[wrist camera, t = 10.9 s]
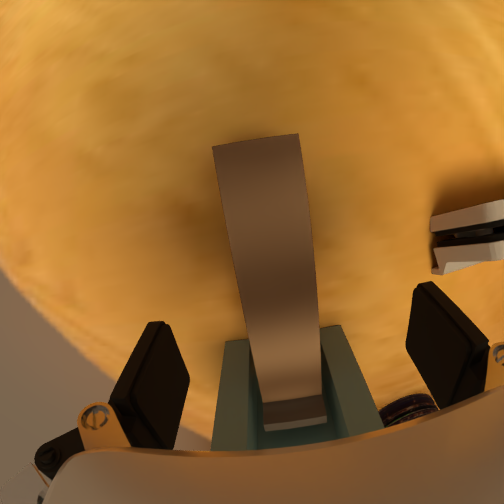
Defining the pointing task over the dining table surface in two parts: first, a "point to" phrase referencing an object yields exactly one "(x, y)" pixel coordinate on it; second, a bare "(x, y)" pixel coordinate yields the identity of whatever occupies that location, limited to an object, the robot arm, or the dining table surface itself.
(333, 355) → the u-shaped channel piece
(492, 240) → the grey layered block
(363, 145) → the dining table surface
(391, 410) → the storage jar
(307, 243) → the brown wooden block
